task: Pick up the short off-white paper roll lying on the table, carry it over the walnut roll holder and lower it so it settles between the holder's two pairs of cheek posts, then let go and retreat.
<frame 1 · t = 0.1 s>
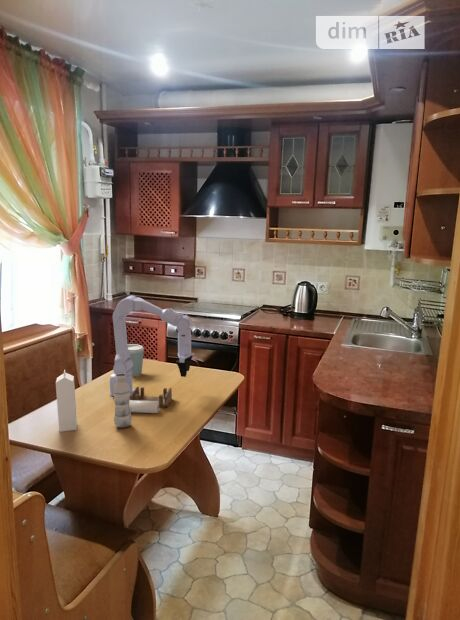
hand: (185, 373, 198), 10 cm above the table, fingers open, 7 cm apart
roll: (143, 412, 182), on the table
plastic bottle: (123, 426, 169), on the table
holder: (151, 402, 191), on the table
disposable coffee cup: (134, 375, 227), on the table
milk: (68, 428, 168), on the table
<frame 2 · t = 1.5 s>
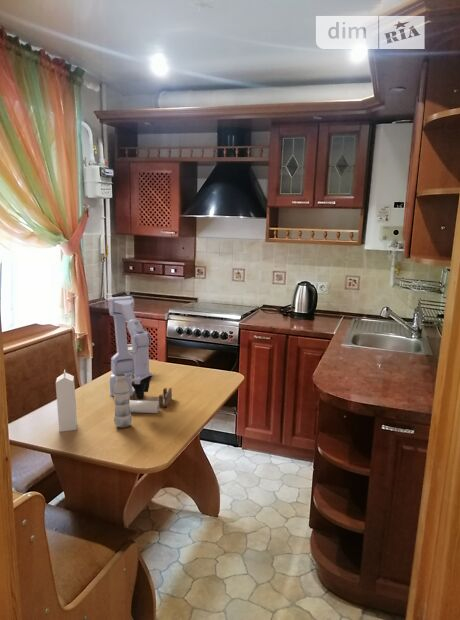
hand: (142, 395, 181), 7 cm above the table, fingers open, 7 cm apart
nothing on the table moved.
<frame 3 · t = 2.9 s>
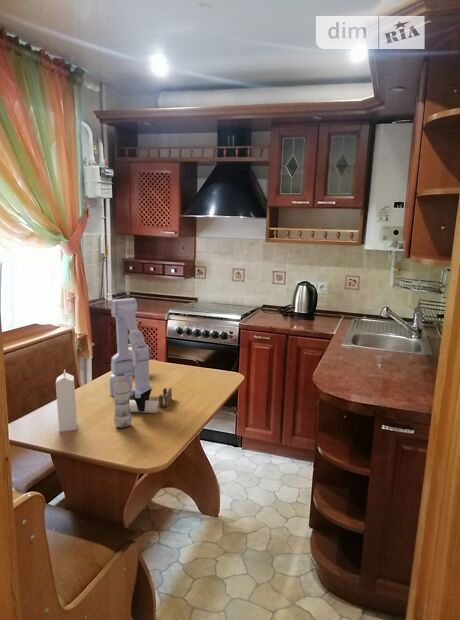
hand: (143, 408, 182), 1 cm above the table, fingers closed on roll, 5 cm apart
roll: (143, 411, 182), on the table, touching gripper
everything else where it was.
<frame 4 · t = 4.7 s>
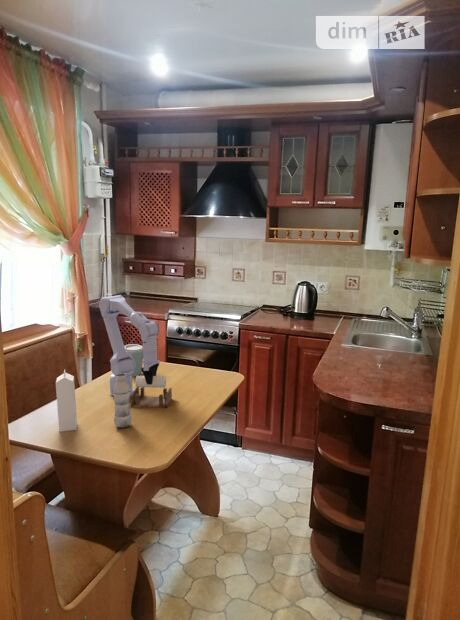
hand: (151, 381, 189), 9 cm above the table, fingers closed on roll, 5 cm apart
roll: (150, 387, 189), point 7 cm above the table, tilted 11°, touching gripper
everything else where it was.
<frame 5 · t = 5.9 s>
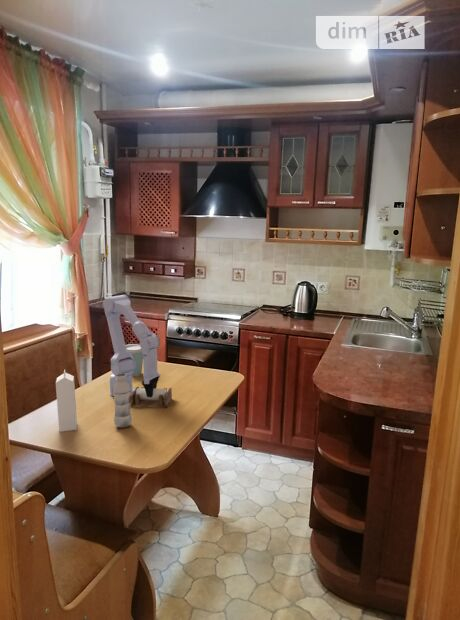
hand: (151, 394, 190), 4 cm above the table, fingers closed on roll, 5 cm apart
roll: (151, 399, 190), point 1 cm above the table, tilted 11°, touching gripper
everything else where it was.
when the fingers open (4 cm above the table, at t = 6.6 s): roll stays where it is, resting on holder.
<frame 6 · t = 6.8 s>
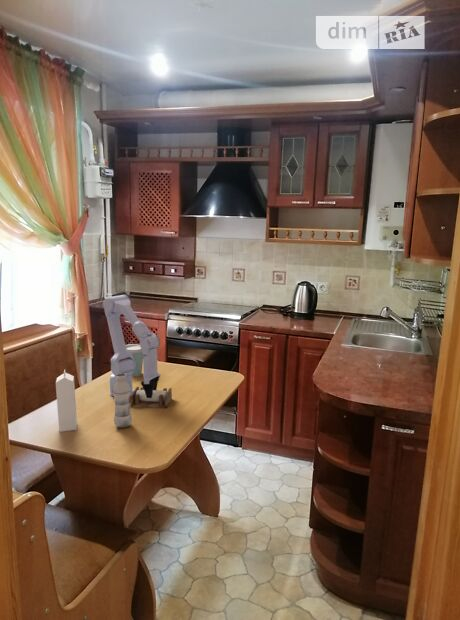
hand: (151, 394, 190), 4 cm above the table, fingers open, 7 cm apart
roll: (151, 401, 191), point 1 cm above the table, touching holder
everything else where it was.
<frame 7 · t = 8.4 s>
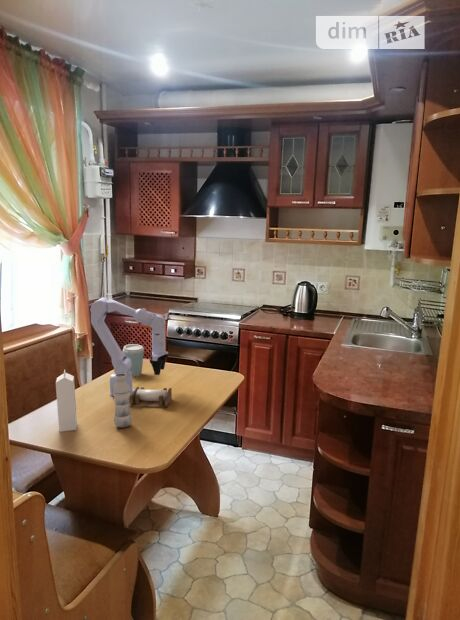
hand: (159, 371, 200), 10 cm above the table, fingers open, 7 cm apart
roll: (151, 401, 191), point 1 cm above the table, tilted 18°, touching holder
everything else where it was.
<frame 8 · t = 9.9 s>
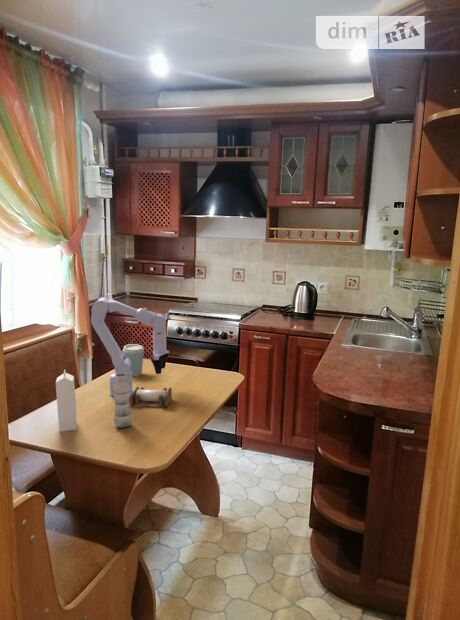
hand: (160, 370, 202), 10 cm above the table, fingers open, 7 cm apart
roll: (151, 401, 191), point 1 cm above the table, tilted 11°, touching holder
everything else where it was.
at the end: roll 0.4 cm off-centre on the holder, point 0.8 cm above the holder's base; the gripper is holding nothing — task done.
